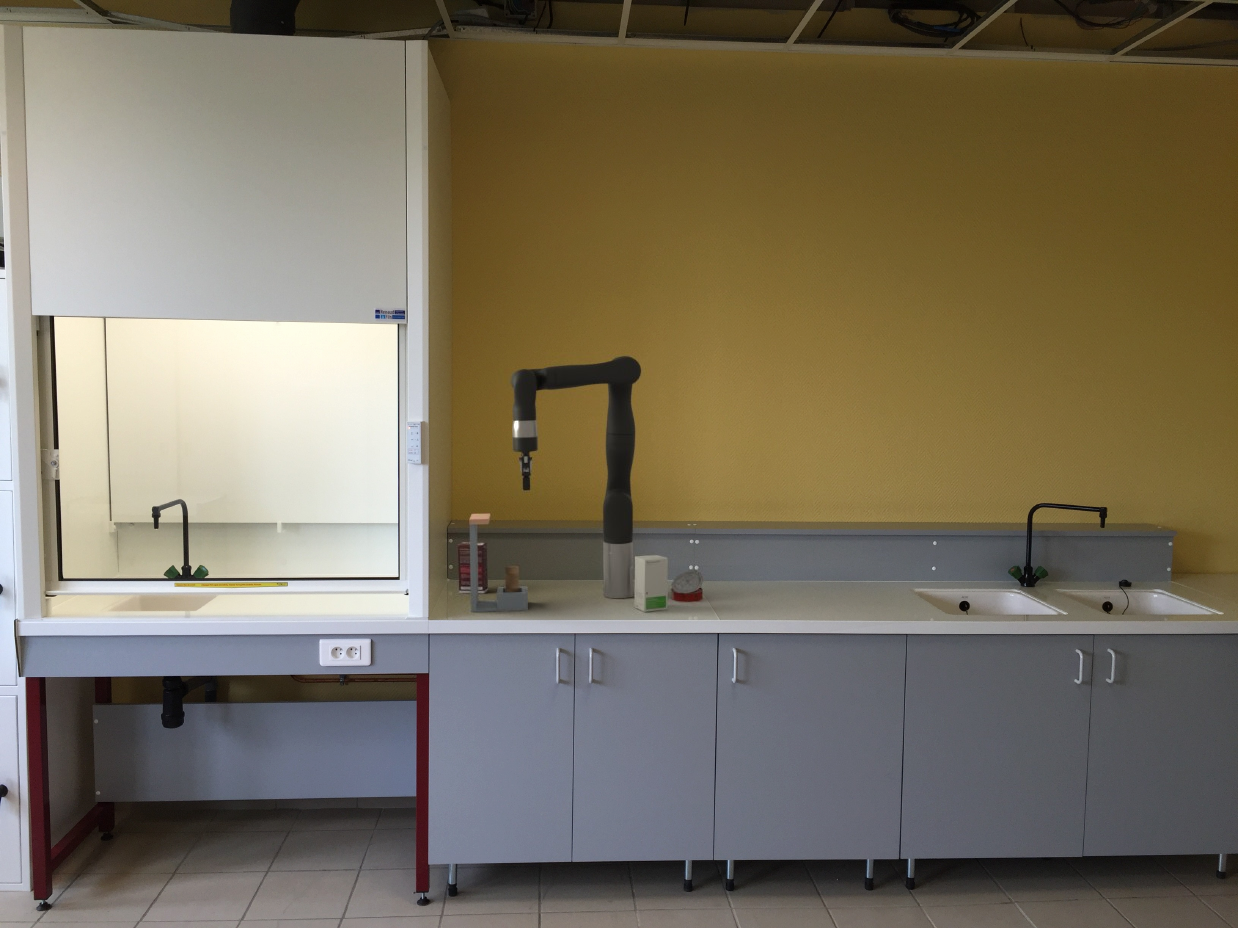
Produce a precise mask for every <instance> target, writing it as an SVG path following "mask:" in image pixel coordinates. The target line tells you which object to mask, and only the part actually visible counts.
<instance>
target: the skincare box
mask: <svg viewBox="0 0 1238 928" xmlns="http://www.w3.org/2000/svg"><path fill="white" fill-rule="evenodd" d="M668 562H669V558H668V557H666V556H662V555H659V554H656V555H655V554H654V555H641V556H639V555H637V556H634V608H635V609H636V610H639V611H641V612H642V613H643V612H644V613H648V612H655V611H657V612H658V611H663V610H664V611H666V610H668V587H669V586H668V583H669V582H668V579H669V578H668V576H669V575H668V572H669V569H668V568H669V565H668V564H669V563H668Z"/></svg>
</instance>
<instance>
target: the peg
mask: <svg viewBox="0 0 1238 928" xmlns="http://www.w3.org/2000/svg"><path fill="white" fill-rule="evenodd" d="M519 569H520V567H519V566H517V565H508V566H505V567H504V577H505V578H504V581H505V585H504V587H505V592H519V585H520V581H519V574H520V570H519Z"/></svg>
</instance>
